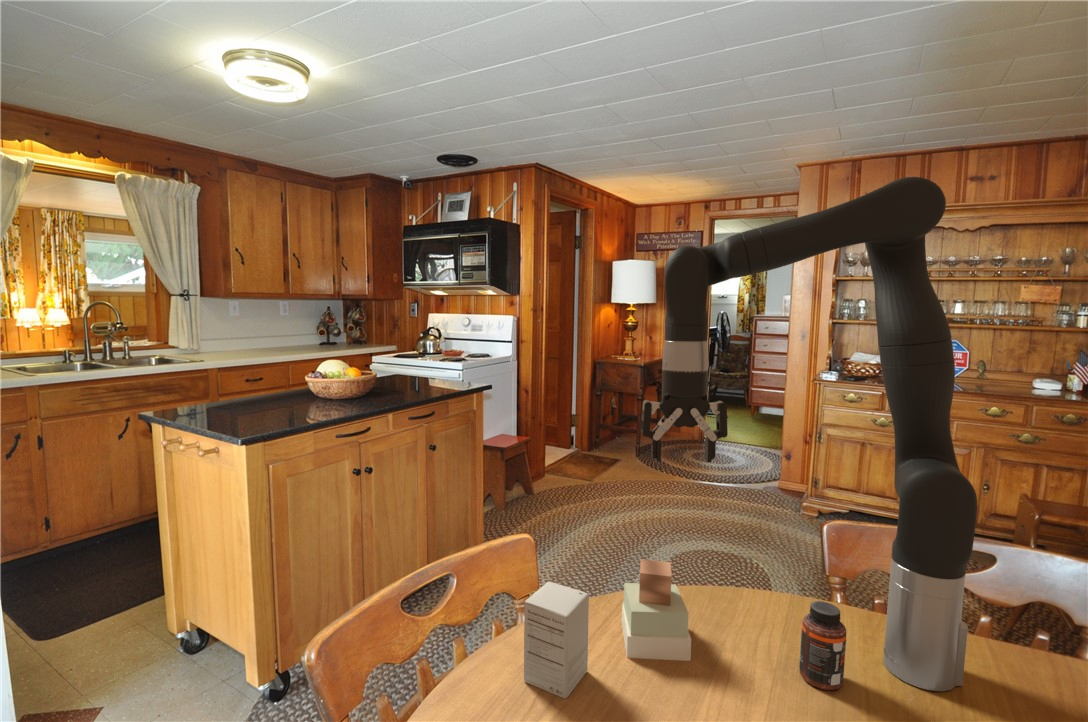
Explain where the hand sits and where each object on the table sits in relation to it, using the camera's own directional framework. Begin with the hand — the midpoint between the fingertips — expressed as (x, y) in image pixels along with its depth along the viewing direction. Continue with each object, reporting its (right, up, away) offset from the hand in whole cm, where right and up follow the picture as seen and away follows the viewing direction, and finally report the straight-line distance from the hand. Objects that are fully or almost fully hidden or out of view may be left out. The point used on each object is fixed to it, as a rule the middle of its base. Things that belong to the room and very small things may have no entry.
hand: (682, 461), depth 93 cm
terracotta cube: (-5, -22, -3) cm, 23 cm away
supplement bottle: (+18, -31, -11) cm, 38 cm away
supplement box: (-22, -31, -12) cm, 39 cm away
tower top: (-5, -26, -3) cm, 27 cm away
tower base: (-5, -30, -2) cm, 31 cm away
